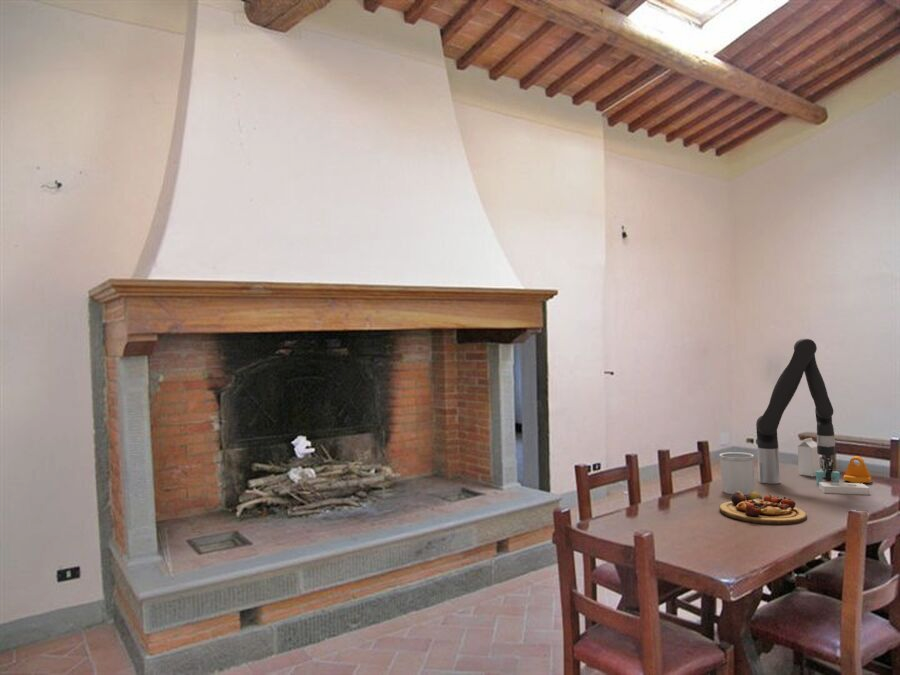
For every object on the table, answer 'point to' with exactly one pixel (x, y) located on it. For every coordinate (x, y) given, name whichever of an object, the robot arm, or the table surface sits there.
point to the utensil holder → (737, 472)
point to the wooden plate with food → (762, 509)
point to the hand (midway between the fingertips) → (827, 480)
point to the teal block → (822, 474)
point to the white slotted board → (844, 488)
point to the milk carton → (808, 458)
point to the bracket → (857, 472)
